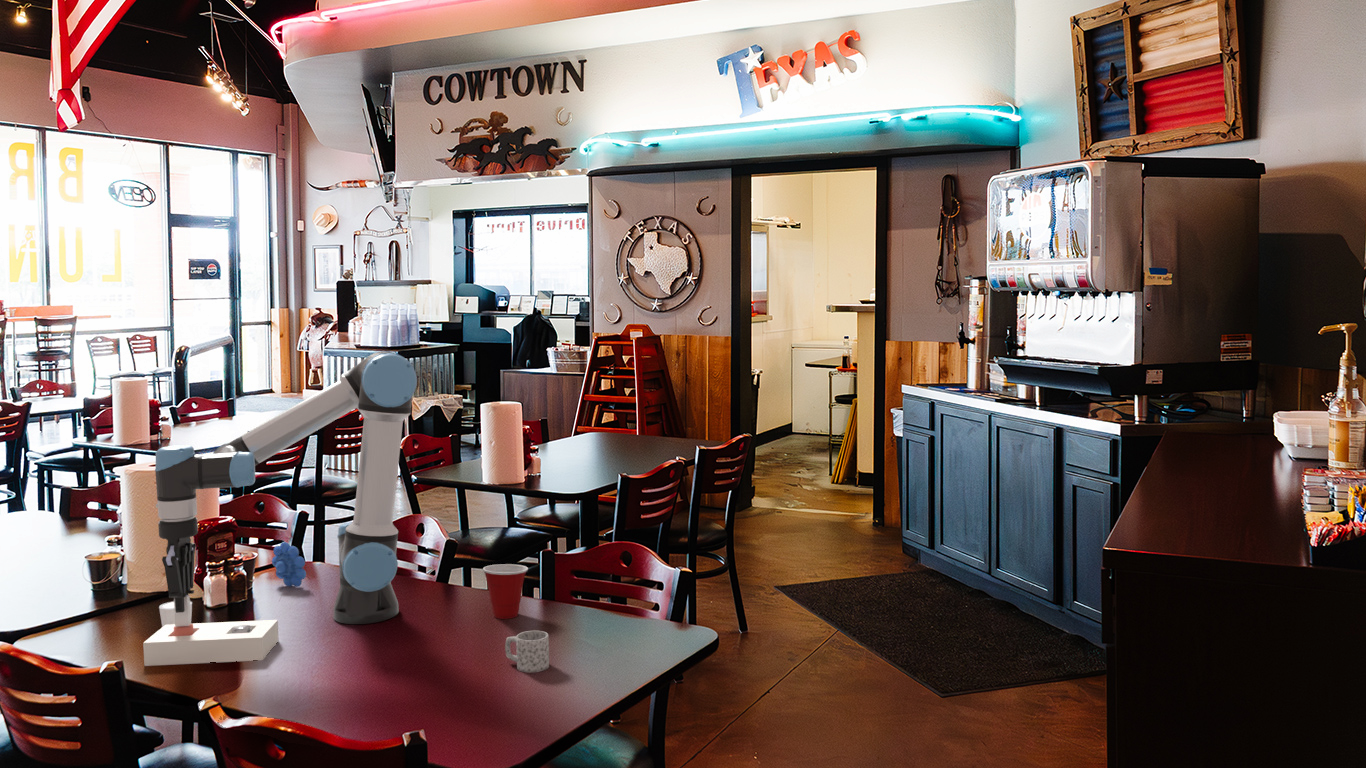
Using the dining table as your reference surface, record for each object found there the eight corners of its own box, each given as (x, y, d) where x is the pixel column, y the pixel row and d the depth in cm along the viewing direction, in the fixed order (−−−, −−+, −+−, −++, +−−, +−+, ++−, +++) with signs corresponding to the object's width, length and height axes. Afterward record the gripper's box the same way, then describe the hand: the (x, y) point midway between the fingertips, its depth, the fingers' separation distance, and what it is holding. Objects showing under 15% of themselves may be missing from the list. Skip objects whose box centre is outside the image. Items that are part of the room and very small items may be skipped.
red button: (196, 645, 222) (195, 623, 221) (190, 651, 218) (189, 628, 218) (178, 646, 221) (177, 623, 221) (172, 652, 218) (170, 629, 217)
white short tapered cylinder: (180, 639, 230) (178, 609, 229) (153, 637, 231) (152, 607, 231) (200, 629, 237) (198, 600, 236) (174, 628, 238) (172, 599, 237)
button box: (278, 641, 228) (277, 619, 227) (263, 660, 216) (261, 637, 215) (166, 646, 225) (165, 624, 225) (144, 665, 213) (143, 642, 213)
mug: (555, 663, 212) (554, 632, 212) (538, 674, 206) (537, 642, 206) (515, 657, 217) (514, 627, 216) (497, 667, 210) (496, 636, 210)
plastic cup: (538, 612, 248) (537, 563, 247) (511, 624, 238) (509, 574, 237) (502, 606, 253) (501, 559, 252) (474, 618, 243) (473, 569, 242)
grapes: (261, 588, 271) (259, 543, 270) (281, 581, 277) (279, 538, 276) (292, 593, 266) (290, 548, 265) (312, 586, 272) (310, 542, 271)
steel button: (254, 646, 223) (253, 624, 223) (248, 652, 219) (247, 629, 219) (236, 647, 223) (235, 625, 222) (230, 653, 219) (229, 630, 219)
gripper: (171, 512, 223) (176, 616, 225) (146, 525, 210) (152, 635, 212) (206, 511, 224) (211, 615, 226) (184, 524, 211) (190, 634, 213)
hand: (183, 625), depth 219 cm, fingers closed
